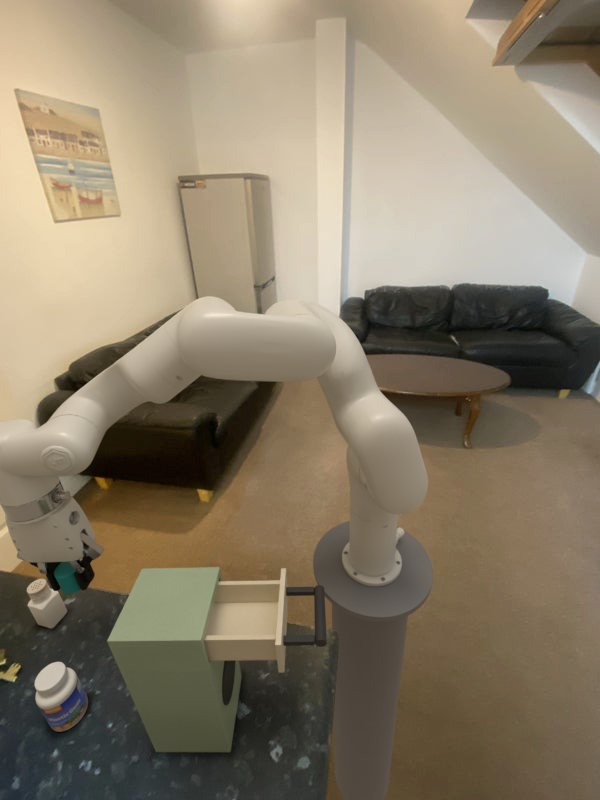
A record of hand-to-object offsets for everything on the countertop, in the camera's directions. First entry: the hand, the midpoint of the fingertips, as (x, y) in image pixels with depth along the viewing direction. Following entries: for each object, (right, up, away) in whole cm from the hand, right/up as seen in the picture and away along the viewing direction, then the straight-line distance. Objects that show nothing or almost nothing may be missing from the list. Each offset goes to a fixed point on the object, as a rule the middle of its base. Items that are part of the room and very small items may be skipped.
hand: (74, 582), depth 63 cm
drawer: (+34, +1, -14) cm, 37 cm away
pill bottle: (+2, -19, -4) cm, 19 cm away
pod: (0, 0, 0) cm, 0 cm away
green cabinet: (+23, -18, -5) cm, 30 cm away
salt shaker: (-11, -12, +10) cm, 19 cm away
